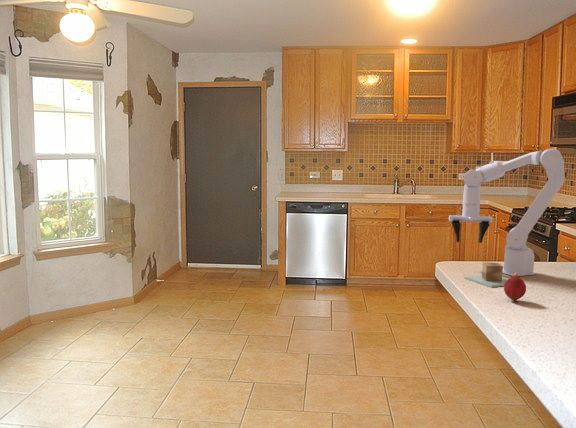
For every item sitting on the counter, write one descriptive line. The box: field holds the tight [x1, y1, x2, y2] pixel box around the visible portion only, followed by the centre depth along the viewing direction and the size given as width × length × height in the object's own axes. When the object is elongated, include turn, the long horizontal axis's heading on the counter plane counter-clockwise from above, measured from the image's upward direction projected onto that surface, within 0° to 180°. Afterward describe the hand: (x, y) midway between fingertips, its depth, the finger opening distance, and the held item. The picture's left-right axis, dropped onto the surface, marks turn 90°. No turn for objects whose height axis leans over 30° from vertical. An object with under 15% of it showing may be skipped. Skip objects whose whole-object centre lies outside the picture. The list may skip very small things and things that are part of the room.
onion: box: [503, 273, 527, 302], centre depth 152 cm, size 6×6×8 cm
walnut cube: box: [481, 261, 504, 282], centre depth 174 cm, size 5×5×5 cm
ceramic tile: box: [463, 274, 509, 288], centre depth 174 cm, size 12×12×1 cm
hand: (468, 242), depth 191 cm, fingers open, 7 cm apart
